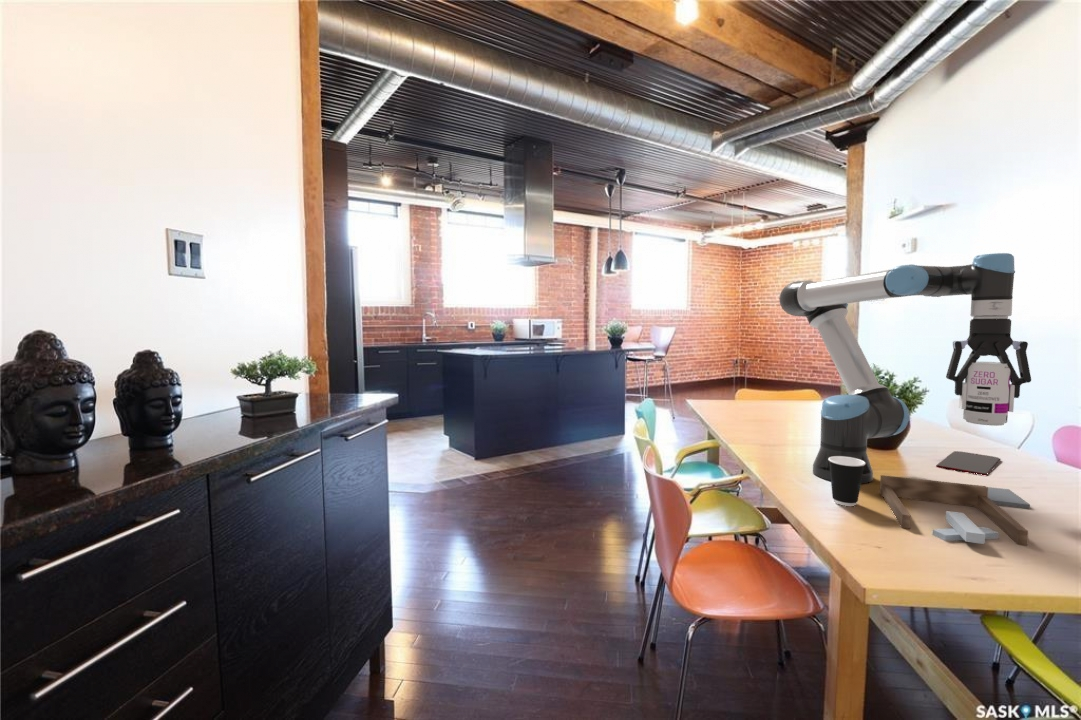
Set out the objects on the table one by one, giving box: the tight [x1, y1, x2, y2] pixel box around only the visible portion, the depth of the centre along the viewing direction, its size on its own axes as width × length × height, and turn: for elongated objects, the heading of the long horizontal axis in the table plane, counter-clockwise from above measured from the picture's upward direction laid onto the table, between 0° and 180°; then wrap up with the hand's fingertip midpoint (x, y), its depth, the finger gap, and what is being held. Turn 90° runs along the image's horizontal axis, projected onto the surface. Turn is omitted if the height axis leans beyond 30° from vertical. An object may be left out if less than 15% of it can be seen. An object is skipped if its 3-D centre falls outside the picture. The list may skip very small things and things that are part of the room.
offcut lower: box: [932, 526, 999, 542], centre depth 105 cm, size 12×3×2 cm, turn 94°
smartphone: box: [935, 450, 1002, 476], centre depth 157 cm, size 12×2×25 cm
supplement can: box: [962, 361, 1011, 427], centre depth 123 cm, size 8×8×15 cm
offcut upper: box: [945, 510, 986, 545], centre depth 105 cm, size 12×3×2 cm, turn 156°
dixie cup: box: [828, 456, 866, 507], centre depth 124 cm, size 8×8×11 cm
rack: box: [879, 474, 1029, 546], centre depth 116 cm, size 22×24×5 cm
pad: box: [986, 486, 1031, 509], centre depth 128 cm, size 12×12×1 cm
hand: (985, 409), depth 123 cm, fingers closed on supplement can, 8 cm apart
